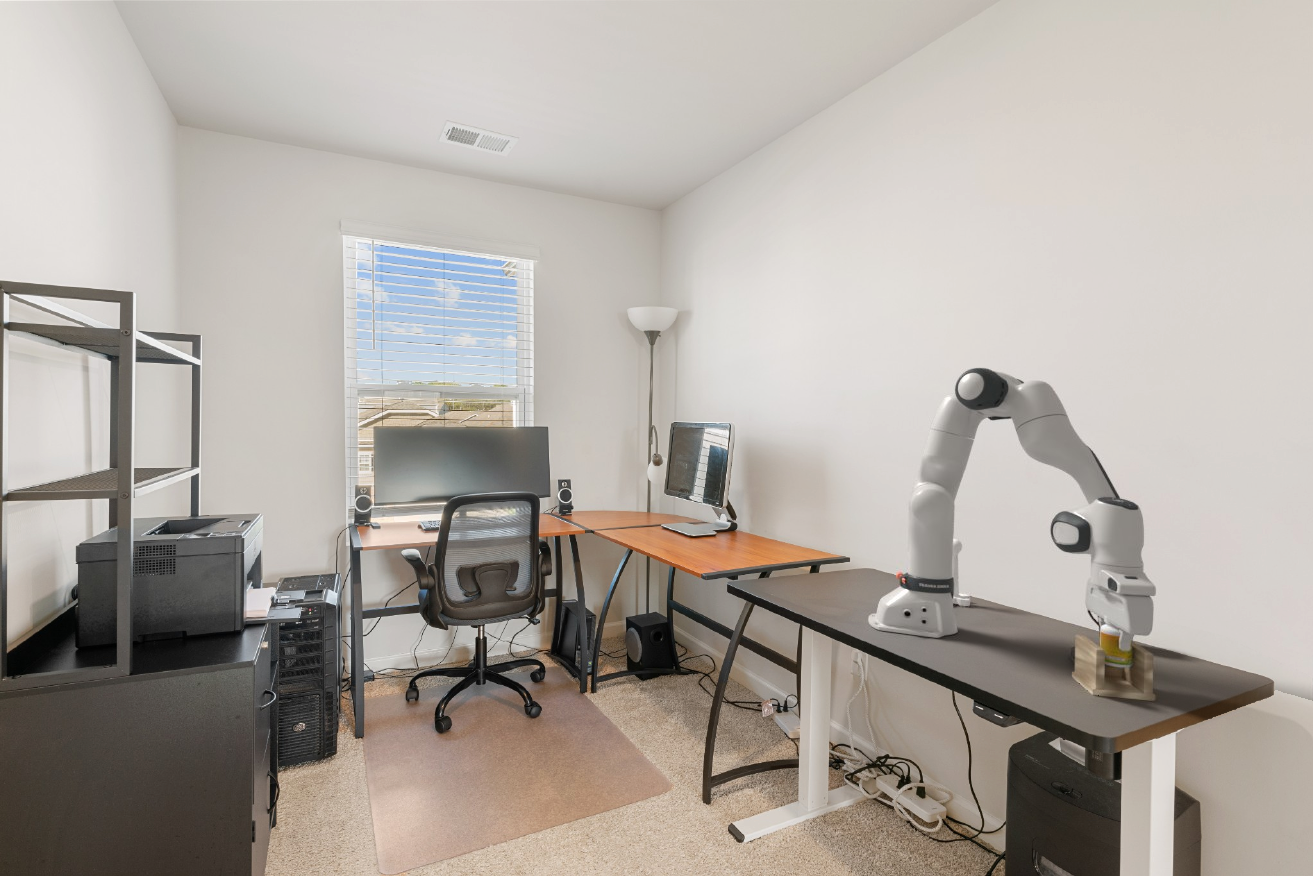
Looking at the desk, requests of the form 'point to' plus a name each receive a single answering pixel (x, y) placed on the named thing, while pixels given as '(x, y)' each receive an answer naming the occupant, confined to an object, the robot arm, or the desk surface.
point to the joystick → (958, 597)
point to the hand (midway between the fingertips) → (1115, 644)
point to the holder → (1113, 672)
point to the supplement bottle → (1114, 646)
